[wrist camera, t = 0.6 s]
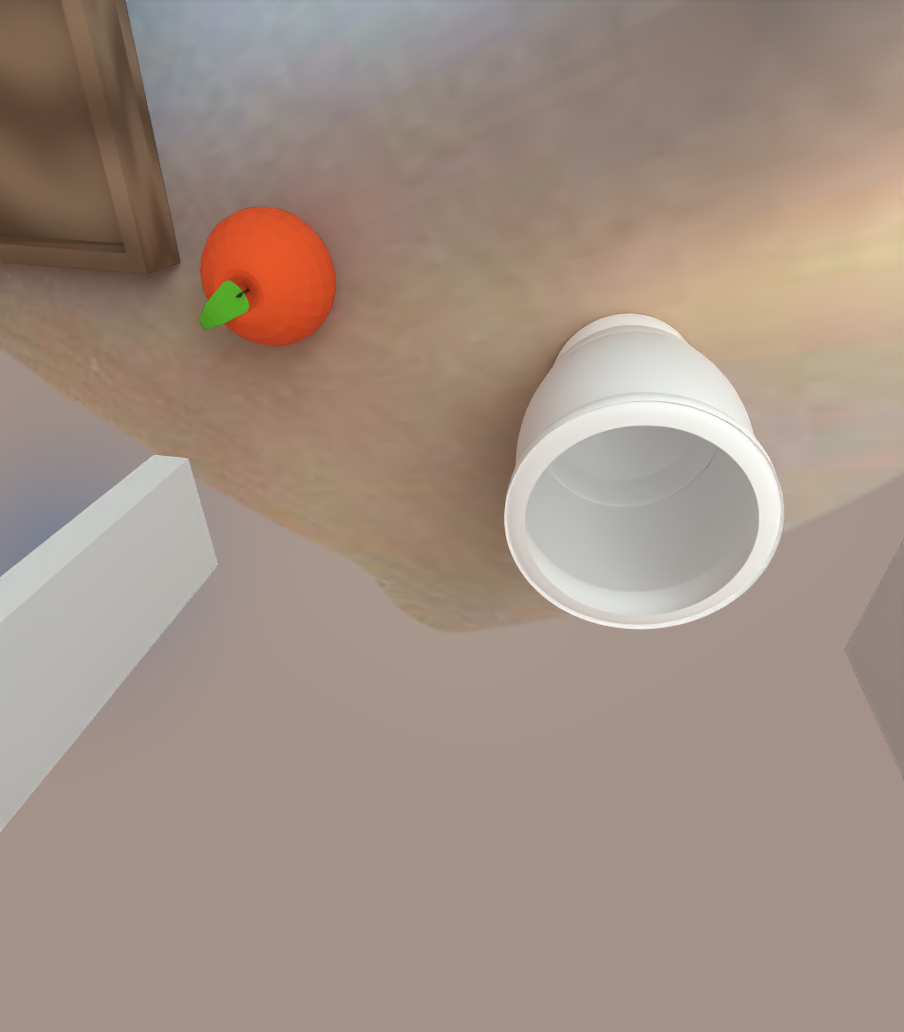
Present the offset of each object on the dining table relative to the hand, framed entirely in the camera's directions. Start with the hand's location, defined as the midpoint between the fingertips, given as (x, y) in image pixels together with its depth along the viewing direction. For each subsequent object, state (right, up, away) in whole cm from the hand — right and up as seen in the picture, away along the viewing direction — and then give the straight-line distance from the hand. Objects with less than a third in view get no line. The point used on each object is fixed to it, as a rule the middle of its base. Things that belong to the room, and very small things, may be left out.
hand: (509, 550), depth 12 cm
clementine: (-11, +15, +24) cm, 30 cm away
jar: (+9, +8, +24) cm, 27 cm away
